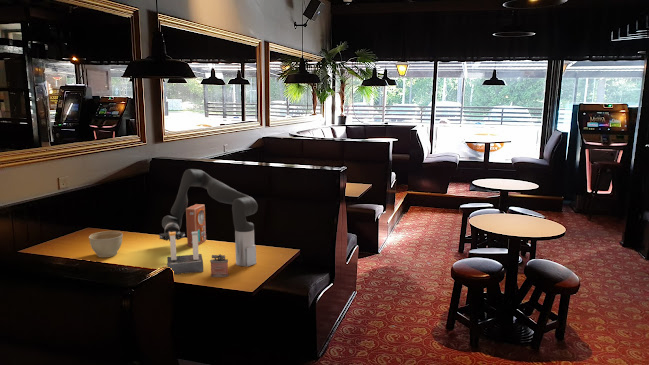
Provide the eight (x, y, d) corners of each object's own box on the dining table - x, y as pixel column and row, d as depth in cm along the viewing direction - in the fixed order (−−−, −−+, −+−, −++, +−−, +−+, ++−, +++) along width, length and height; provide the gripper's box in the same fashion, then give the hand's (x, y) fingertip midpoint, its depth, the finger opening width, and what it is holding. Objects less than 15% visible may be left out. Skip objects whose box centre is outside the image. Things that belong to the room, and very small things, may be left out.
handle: (192, 258, 229) (191, 231, 227) (198, 257, 230) (197, 231, 228) (193, 260, 227) (191, 233, 225) (199, 259, 228) (197, 232, 226)
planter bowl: (93, 262, 241) (92, 241, 239) (87, 254, 254) (86, 234, 252) (127, 256, 250) (126, 235, 249) (119, 248, 263) (118, 229, 261)
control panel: (208, 240, 280) (196, 247, 265) (197, 239, 281) (184, 246, 267) (206, 204, 276) (194, 209, 262) (195, 203, 278) (183, 209, 263)
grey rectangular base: (167, 266, 233) (167, 256, 233) (201, 263, 238) (201, 253, 237) (167, 275, 222) (167, 264, 221) (203, 271, 227) (202, 261, 226)
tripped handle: (170, 258, 229) (169, 232, 227) (176, 258, 230) (175, 231, 228) (170, 260, 226) (169, 233, 224) (177, 259, 227) (175, 233, 225)
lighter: (229, 274, 223) (228, 253, 222) (227, 276, 220) (227, 255, 218) (211, 274, 223) (210, 253, 221) (210, 277, 220) (209, 256, 218)
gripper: (158, 224, 251) (157, 233, 235) (184, 223, 255) (186, 232, 239) (159, 238, 252) (158, 248, 236) (185, 236, 256) (186, 246, 240)
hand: (172, 240), depth 237 cm, fingers closed
